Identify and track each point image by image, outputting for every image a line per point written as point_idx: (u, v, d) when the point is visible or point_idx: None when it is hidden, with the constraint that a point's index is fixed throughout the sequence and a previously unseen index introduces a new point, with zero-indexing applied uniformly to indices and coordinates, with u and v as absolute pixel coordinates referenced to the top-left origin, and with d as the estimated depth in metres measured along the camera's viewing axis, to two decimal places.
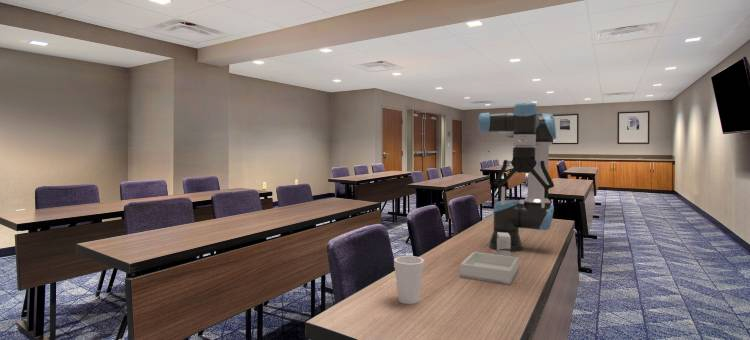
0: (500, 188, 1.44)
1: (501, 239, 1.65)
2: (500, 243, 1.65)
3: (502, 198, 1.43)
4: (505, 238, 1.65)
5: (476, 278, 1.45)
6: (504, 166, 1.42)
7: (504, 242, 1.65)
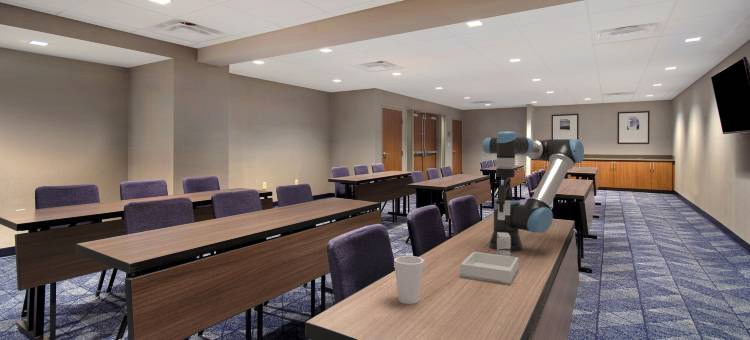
0: None
1: (501, 239, 1.65)
2: (500, 243, 1.65)
3: None
4: (505, 238, 1.65)
5: (476, 278, 1.45)
6: None
7: (504, 242, 1.65)
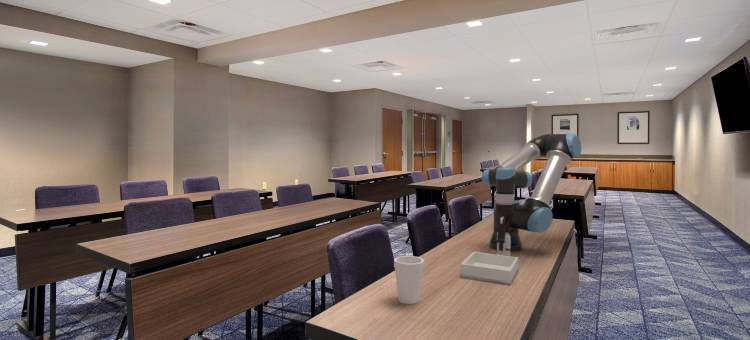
0: None
1: None
2: None
3: None
4: (505, 238, 1.65)
5: (476, 278, 1.45)
6: None
7: (504, 242, 1.65)
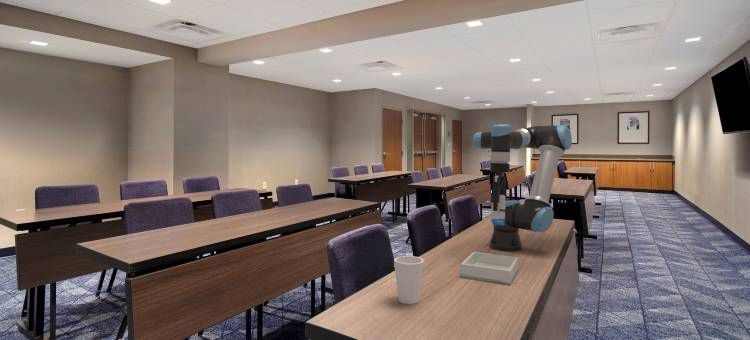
0: None
1: None
2: None
3: None
4: (500, 198, 1.56)
5: (476, 278, 1.45)
6: None
7: None
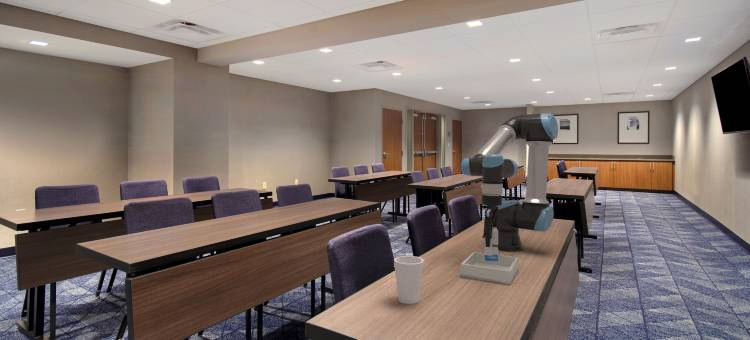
0: None
1: None
2: None
3: None
4: (492, 233, 1.48)
5: (476, 278, 1.45)
6: None
7: None
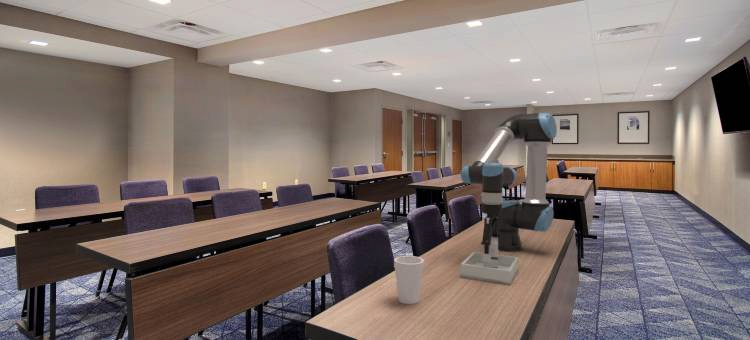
0: None
1: None
2: None
3: None
4: (492, 245, 1.48)
5: (476, 278, 1.45)
6: None
7: (491, 250, 1.48)
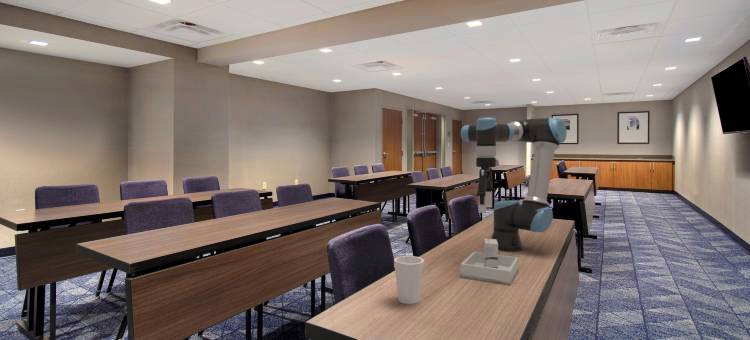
0: None
1: (487, 246, 1.48)
2: (486, 251, 1.48)
3: None
4: (492, 245, 1.48)
5: (476, 278, 1.45)
6: None
7: (491, 250, 1.48)
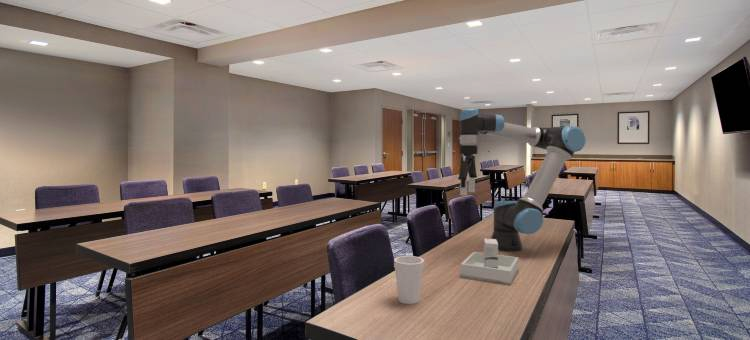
0: None
1: (487, 246, 1.48)
2: (486, 251, 1.48)
3: None
4: (492, 245, 1.48)
5: (476, 278, 1.45)
6: None
7: (491, 250, 1.48)
